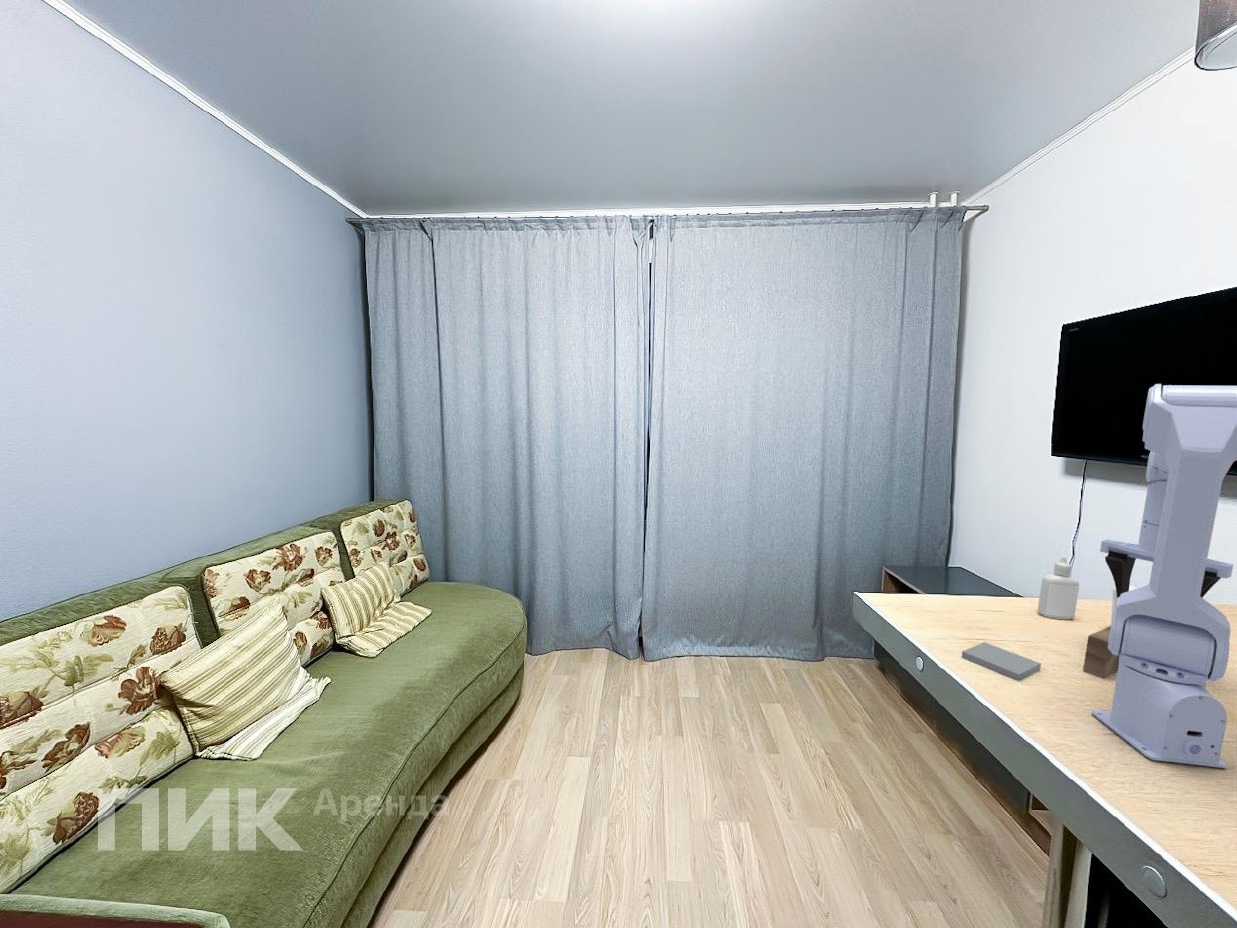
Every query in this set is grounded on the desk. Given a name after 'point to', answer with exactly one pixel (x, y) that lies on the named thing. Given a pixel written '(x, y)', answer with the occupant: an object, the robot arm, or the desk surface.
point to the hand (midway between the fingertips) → (1153, 607)
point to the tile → (1001, 661)
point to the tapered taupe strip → (1100, 655)
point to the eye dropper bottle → (1059, 593)
